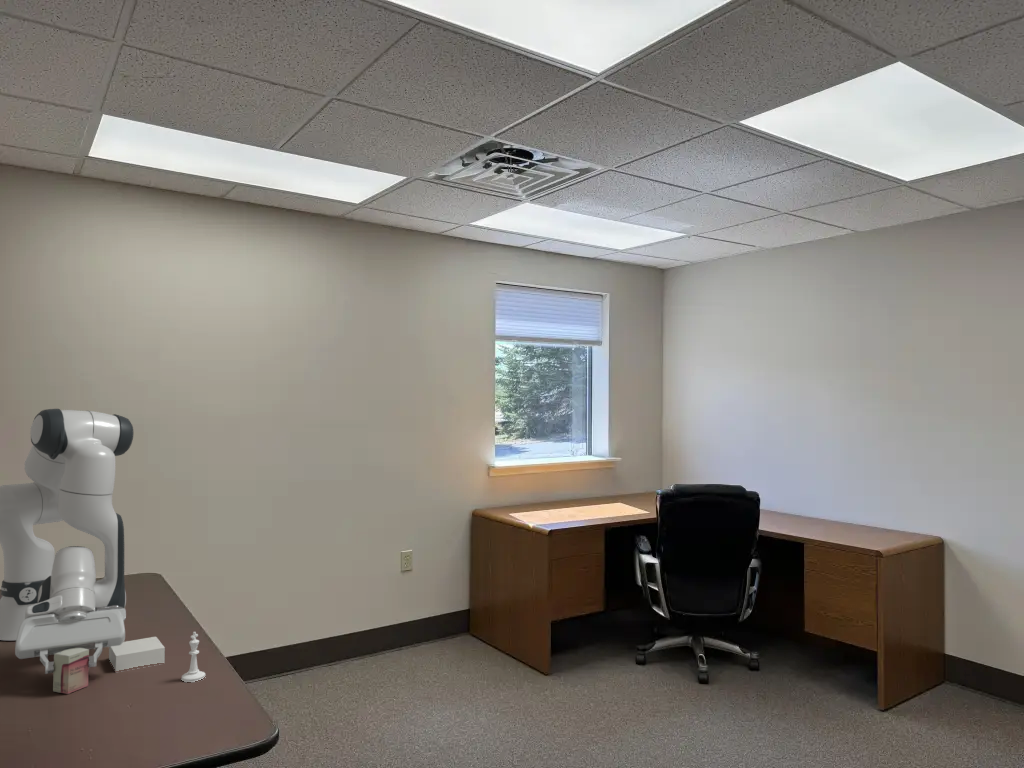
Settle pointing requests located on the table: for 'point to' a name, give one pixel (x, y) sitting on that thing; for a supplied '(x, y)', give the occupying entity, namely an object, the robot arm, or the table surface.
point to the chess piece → (193, 663)
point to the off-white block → (137, 653)
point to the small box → (70, 670)
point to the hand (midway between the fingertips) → (71, 668)
